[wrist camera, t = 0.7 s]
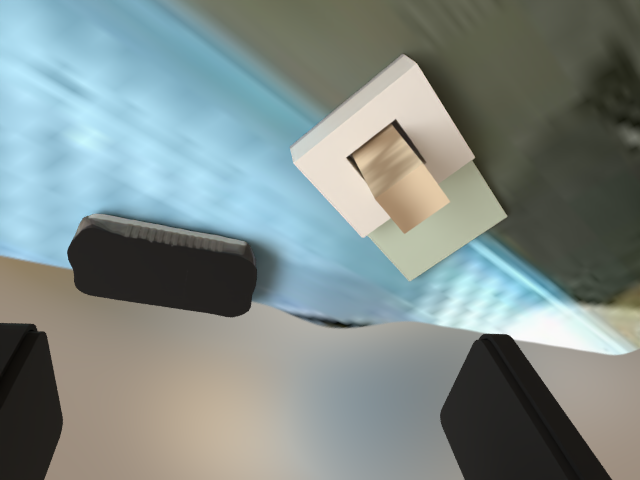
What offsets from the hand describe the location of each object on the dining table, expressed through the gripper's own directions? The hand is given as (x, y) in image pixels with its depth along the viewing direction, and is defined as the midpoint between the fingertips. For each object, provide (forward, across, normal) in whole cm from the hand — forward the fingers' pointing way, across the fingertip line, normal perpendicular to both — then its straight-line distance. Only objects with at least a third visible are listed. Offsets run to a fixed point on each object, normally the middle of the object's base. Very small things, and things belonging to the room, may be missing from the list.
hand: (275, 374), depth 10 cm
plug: (+30, -12, +5) cm, 32 cm away
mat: (+30, -20, +12) cm, 38 cm away
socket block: (+30, -12, +5) cm, 33 cm away
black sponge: (+31, +6, +18) cm, 37 cm away
